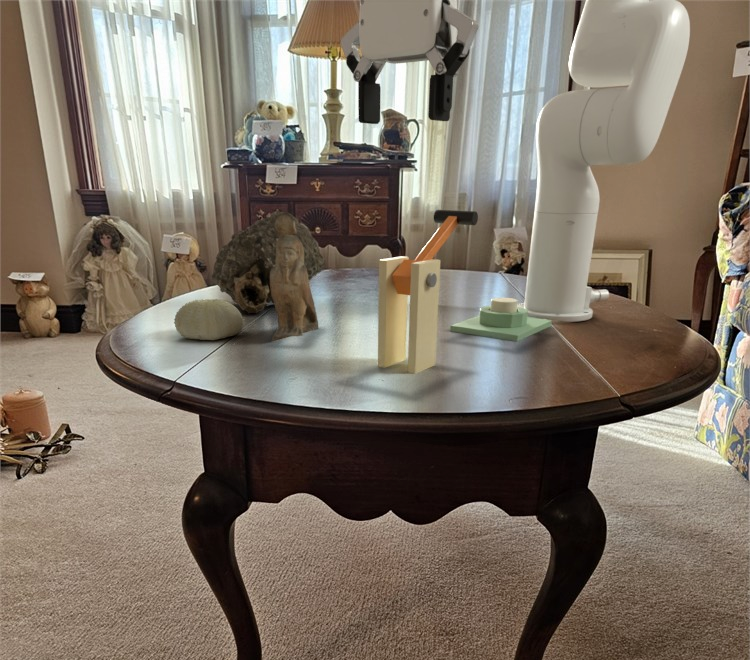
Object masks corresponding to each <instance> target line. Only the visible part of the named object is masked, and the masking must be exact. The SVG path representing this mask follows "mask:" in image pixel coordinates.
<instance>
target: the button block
mask: <svg viewBox="0 0 750 660" xmlns="http://www.w3.org/2000/svg"><path fill="white" fill-rule="evenodd" d="M490 309H491V305H485V306H482V307H480V308H479V311H478V312H479V313H478V315H476V316H474V317H470V318H467V319H465V320H462V321H460V322H456V323H454V324H451V325H450V328H449V329H450V330H449V331H450V332H452V333H453V332H454V333H460V334H466V335H474V336H478V337H479V336H480V337H484V338H485V337H486V338H493V339H499V340H505V341H512V342H519V341H522V340H523V339H526V338H528V337H530V336H532V335H535V334H537V333H539V332H541V331H544V330H545V329H548V328H550V327H551V326H552V324H553V320H549V319H541V318H534V317H527V315H528V311H527V310H526V309H524V308H520V307H517V312H512V313H500V312H493V311H490Z"/></svg>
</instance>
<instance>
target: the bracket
mask: <svg viewBox="0 0 750 660" xmlns="http://www.w3.org/2000/svg"><path fill="white" fill-rule="evenodd" d="M404 259H406V260H410V257H409V256H405V255H403V256H402V255H401V256H395V257H389V258H388V257H387V258H383V259H382V258H381V259H379V260H378V308H377V309H378V316H377V367H379V368H388V367H391V366H393V365H396V364H399V363H401V362H403V361H406V357H407V373H410V374H418V373H420V372H422V371H425V370H427V369H429V368H432V367H433V366H436V354H437V337H438V316H439V299H440V298H439V297H440V296H439V295H440V277H441V259H436V258H432V259H431V260H426V261H420V262H415V263H411V285H410V295H409V317H408V295H403V294H397V291H396V287H395V284H394V281H393V278H392V274H393V273H394V272H395V271H396V269H397V268H398V267H399V266H400V264H401V263H402V262H403V260H404ZM408 319H409V320H408ZM407 320H408V321H407ZM407 322H409V323H408V351H407ZM407 354H408V355H407Z"/></svg>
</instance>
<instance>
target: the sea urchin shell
mask: <svg viewBox="0 0 750 660" xmlns="http://www.w3.org/2000/svg"><path fill="white" fill-rule="evenodd" d="M173 320H174V322H173V324H174V328H175V330H176V331H177V333H178V334H179V335H181V336H182V337H183V338H185V339H191V340H200V341H212V342H213V341H217V340H220V339H225V338H229V337H233V336H236V335H237V334H239V333H240V332H241V331H242V329H243V327H244V318H243V315H242V313H241V311H240V310H239V309H238V308H237V307H236V306H235V305H234V304H232V303H231V302H229V301H227V300H224V299H219V298H213V299H212V298H211V299H208V298H207V299H195V300H191V301H188V302H186V303H185V304H184V305H182V306H181V307H180V308H179V309H178V310H177V312H176V314H175V315H174V319H173Z"/></svg>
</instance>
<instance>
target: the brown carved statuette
mask: <svg viewBox="0 0 750 660" xmlns="http://www.w3.org/2000/svg"><path fill="white" fill-rule="evenodd" d="M288 213H289V212H286V213H282V214H280V215H278V216H277V218H276V220H275V223H274V225H275V229H276V231H277V233H278V234H279V236H280V238H279V239H278V241H277V244H276V264H275V265H274V266H273V267H272V268H271V270H270V289H271V296H272V298H273V301H274V303H273V304H274V308H275V313H276V317H277V329H276V331H275V332H274V333H273V334H272V337H271V342H277V341H280V340H283V339H287V338H292V337H302V336H304V334H305V333H310V332H312V331H316V330H319V320H318V316H317V315H318V314H317V311H316V307H315V301H314V298H313V294H312V290H311V285H310V281H309V280H308V274H307V269H306V266H305V265H304V249H303V245H302V243H301V241H300V240H299V239H298V238H297V237H296V224H295V220H294V218H292V217H291V215H292V214H291V213H290V214H291V215H290V214H288Z"/></svg>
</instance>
